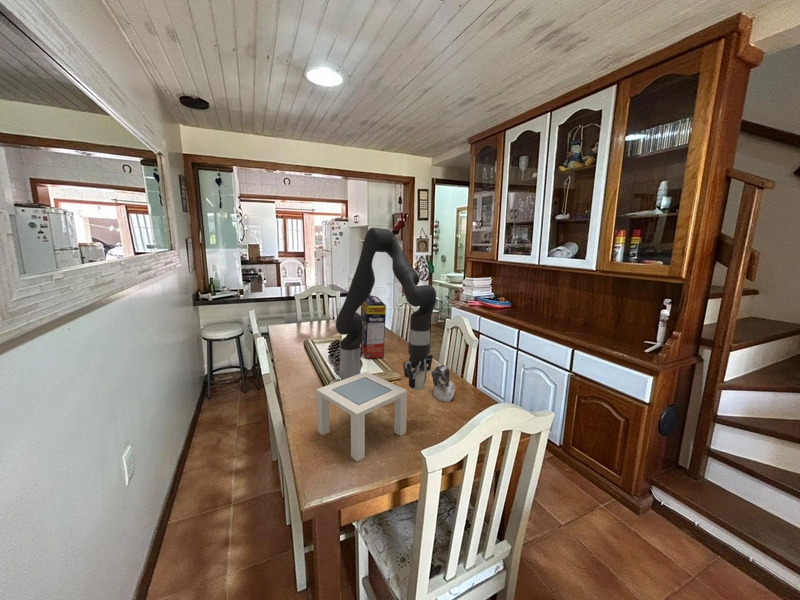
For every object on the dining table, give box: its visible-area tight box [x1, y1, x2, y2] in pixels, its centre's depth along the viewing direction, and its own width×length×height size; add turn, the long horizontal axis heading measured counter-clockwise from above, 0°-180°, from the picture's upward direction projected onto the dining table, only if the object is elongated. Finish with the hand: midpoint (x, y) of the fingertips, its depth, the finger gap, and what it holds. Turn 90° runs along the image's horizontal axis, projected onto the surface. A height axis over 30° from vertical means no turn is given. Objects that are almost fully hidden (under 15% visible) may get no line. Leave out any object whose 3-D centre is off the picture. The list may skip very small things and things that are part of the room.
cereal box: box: [360, 294, 387, 360], centre depth 195 cm, size 27×11×32 cm, turn 14°
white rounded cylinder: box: [411, 368, 426, 391], centre depth 121 cm, size 5×5×6 cm
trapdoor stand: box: [315, 371, 408, 462], centre depth 115 cm, size 22×22×16 cm
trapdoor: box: [333, 378, 391, 405], centre depth 114 cm, size 14×14×1 cm
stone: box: [431, 364, 456, 403], centre depth 144 cm, size 14×10×15 cm
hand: (417, 384), depth 122 cm, fingers closed on white rounded cylinder, 5 cm apart
